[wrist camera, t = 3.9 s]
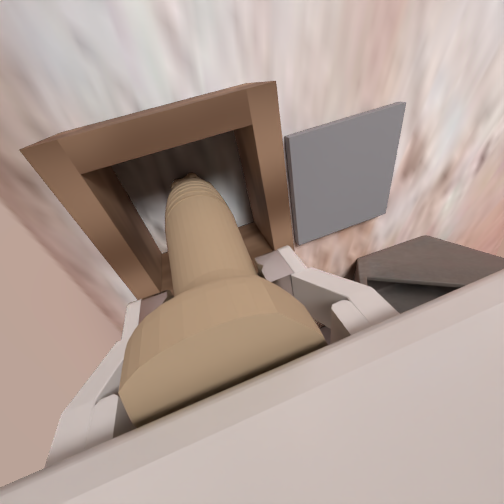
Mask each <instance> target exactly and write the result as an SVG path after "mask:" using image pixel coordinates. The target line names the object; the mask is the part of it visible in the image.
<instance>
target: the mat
mask: <svg viewBox="0 0 504 504" xmlns="http://www.w3.org/2000/svg"><path fill="white" fill-rule="evenodd" d="M405 106H406V102H396V103H393V104H390V105H387V106H383V107H380V108H377V109H373V110H370V111H367V112H363V113H360V114H357V115H353V116H350V117H347V118H343V119H340V120H337V121H334V122H330V123H327V124H324V125H320V126H317V127H314V128H310V129H307V130H304V131H300V132H297V133H294V134H290V135H287V136H285V144H286V154H287V164H288V174H289V184H290V194H291V204H292V213H293V223H294V233H295V241H296V243H297V244H298V245H301V244H304V243H307V242H309V241H312V240H315V239H317V238H320V237H323V236H326V235H328V234H331V233H334V232H336V231H339V230H342V229H345V228H347V227H350V226H353V225H355V224H358V223H361V222H364V221H366V220H369V219H372V218H375V217H377V216H380V215H383V214H385V213H386V208H387V203H388V197H389V192H390V187H391V181H392V176H393V171H394V165H395V160H396V155H397V149H398V144H399V138H400V133H401V128H402V122H403V117H404V112H405Z"/></svg>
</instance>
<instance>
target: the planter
mask: <svg viewBox="0 0 504 504" xmlns="http://www.w3.org/2000/svg"><path fill="white" fill-rule="evenodd" d="M502 269H504V258H502V257H498V256H495V255H491V254H488V253H485V252H481V251H478V250H475V249H471V248H468V247H464V246H461V245H458V244H454V243H451V242H448V241H444V240H441V239H437V238H434V237H430V236H421V237H418V238H415V239H412V240H410V241H407V242H404V243H401V244H398V245H395V246H392V247H389V248H387V249H384V250H381V251H378V252H375V253H372V254H369V255H366V256H364V257H361V258H358V259H357V263H356V269H355V275H354V281H355V282H358V283H361V284H364V285H367V286H370V287H372V288H373V289H374V290H375V291H376V292H377V293H378V294H380V295H381V296H382V297H383V298H384V299H385V300H386V301H387V302H388V303H389V304H390V305H391V306H392V307H393V308H394V309H395V310H396V311H397V312H399V313H400V314H401V313H403V312H406V311H408V310H410V309H413V308H415V307H417V306H420V305H422V304H424V303H426V302H429V301H431V300H433V299H436V298H438V297H440V296H443V295H445V294H447V293H449V292H452V291H454V290H456V289H459V288H461V287H463V286H466V285H468V284H470V283H473V282H475V281H477V280H479V279H482V278H484V277H486V276H489V275H491V274H493V273H496V272H498V271H500V270H502Z"/></svg>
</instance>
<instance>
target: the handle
mask: <svg viewBox="0 0 504 504" xmlns="http://www.w3.org/2000/svg"><path fill="white" fill-rule="evenodd" d="M171 189H172V190H171V192H170V194H169V197H168V200H167V205H166V212H165V233H166V240H167V247H168V254H169V261H170V268H171V276H172V283H173V291H174V298H172V299H170V300H168V301H167V302H165V303H163V304H161V305H160V306H159V307H158V308H156V309H155V310H154V311H152V312H151V313H150V314H148V315H147V316H146V317H145V318H144V319H143V320H142V321H141V323H140V324H139V325H138V326H137V327H136V328H135V330H134V332H133V333H132V335H131V337H130V338H129V340H128V342H127V345H126V349H125V354H124V360H123V366H122V372H121V379H120V385H119V392H118V393H119V396H120V398H121V400H122V403H123V405H124V407H125V410H126V412H127V414H128V416H129V418H130V420H131V422H132V424H133V425H134V426H135V427H136V428H139V427H141V426H143V425H145V424H148V423H150V422H152V421H155V420H157V419H159V418H162V417H164V416H166V415H169V414H171V413H173V412H175V411H178V410H180V409H182V408H185V407H187V406H189V405H192V404H194V403H196V402H198V401H201V400H203V399H205V398H208V397H210V396H212V395H215V394H217V393H219V392H221V391H224V390H226V389H228V388H231V387H233V386H235V385H238V384H240V383H242V382H244V381H247V380H249V379H251V378H254V377H256V376H258V375H260V374H263V373H265V372H267V371H270V370H272V369H274V368H277V367H279V366H281V365H284V364H286V363H288V362H290V361H293V360H295V359H297V358H300V357H302V356H304V355H307V354H309V353H311V352H314V351H316V350H318V349H320V348H323V347H325V346H327V345H328V344H327V342H326V340H325V338H324V336H323V334H322V332H321V331H320V329H319V328H318V326H317V324H316V323H315V321H314V320H313V318H312V317H311V315H310V313H309V312H308V310H307V309H306V307H305V306H304V305H303V304H302V303H301V302H299V301H298V300H297V299H296V298H295V297H293V296H292V295H291V294H290V293H288V292H287V291H285V290H284V289H282V288H281V287H279V286H278V285H276V284H274V283H272V282H270V281H268V280H266V279H264V278H262V277H260V276H258V274H257V272H256V270H255V267H254V265H253V263H252V260H251V258H250V255H249V253H248V251H247V248H246V246H245V244H244V241H243V239H242V236H241V234H240V231H239V229H238V226H237V224H236V221H235V219H234V216H233V214H232V213H231V211H230V209H229V207H228V206H227V204H226V202H225V201H224V199H223V198H222V197H221V195H220V194H219V193H218V191H217V190H216V189H215V188H214V187H213V185H212V184H211V183H209V182H206V181H204V180H202V179H200V178H199V177H198V176H197V175H196V174H195V173H188V175H187V176H186V177H184V178H182V179H175V180H174V182H173V183H172V185H171Z"/></svg>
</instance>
